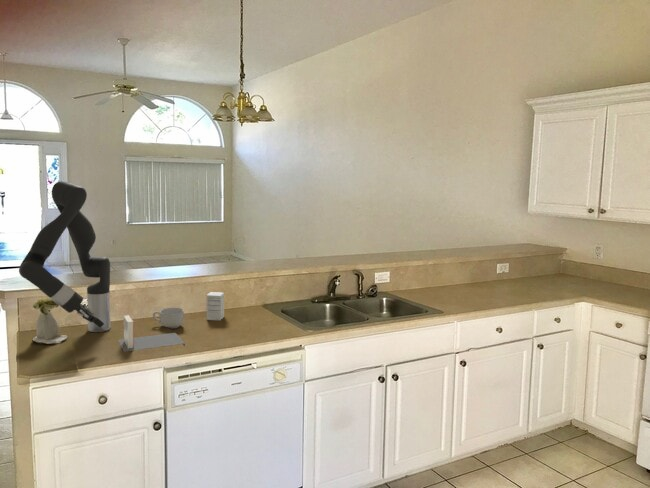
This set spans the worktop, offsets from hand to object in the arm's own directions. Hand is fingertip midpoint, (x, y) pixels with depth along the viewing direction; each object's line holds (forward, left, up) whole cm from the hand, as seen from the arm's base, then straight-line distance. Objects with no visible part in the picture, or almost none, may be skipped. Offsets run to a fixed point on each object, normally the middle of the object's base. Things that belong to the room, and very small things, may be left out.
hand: (102, 325), depth 204 cm
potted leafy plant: (-21, -18, -10) cm, 30 cm away
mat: (0, +19, -10) cm, 21 cm away
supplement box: (-26, +55, -10) cm, 62 cm away
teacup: (-21, +31, -10) cm, 39 cm away
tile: (0, +10, -9) cm, 14 cm away
